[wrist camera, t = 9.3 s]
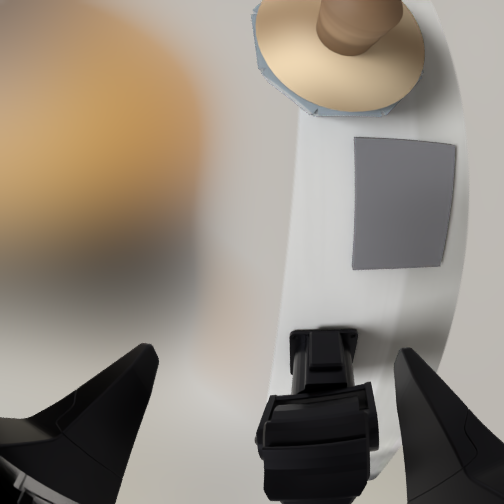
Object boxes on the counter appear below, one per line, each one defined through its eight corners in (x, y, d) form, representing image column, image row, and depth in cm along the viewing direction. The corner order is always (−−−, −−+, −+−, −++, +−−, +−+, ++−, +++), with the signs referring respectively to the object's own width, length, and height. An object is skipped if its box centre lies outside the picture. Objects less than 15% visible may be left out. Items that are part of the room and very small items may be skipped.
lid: (424, 117, 11) (480, 124, 7) (268, 114, 13) (251, 112, 8) (401, -15, 7) (437, -54, 3) (249, -21, 9) (226, -71, 4)
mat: (437, 262, 20) (440, 266, 19) (351, 266, 21) (353, 270, 21) (451, 144, 15) (455, 145, 15) (353, 137, 17) (355, 138, 16)
